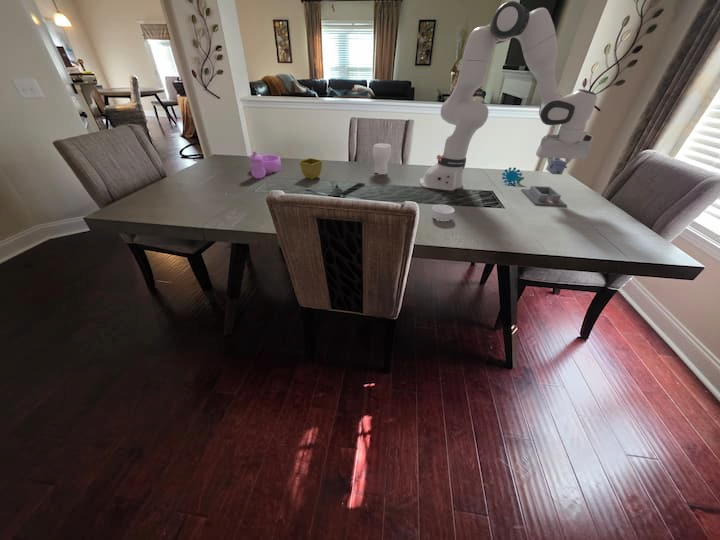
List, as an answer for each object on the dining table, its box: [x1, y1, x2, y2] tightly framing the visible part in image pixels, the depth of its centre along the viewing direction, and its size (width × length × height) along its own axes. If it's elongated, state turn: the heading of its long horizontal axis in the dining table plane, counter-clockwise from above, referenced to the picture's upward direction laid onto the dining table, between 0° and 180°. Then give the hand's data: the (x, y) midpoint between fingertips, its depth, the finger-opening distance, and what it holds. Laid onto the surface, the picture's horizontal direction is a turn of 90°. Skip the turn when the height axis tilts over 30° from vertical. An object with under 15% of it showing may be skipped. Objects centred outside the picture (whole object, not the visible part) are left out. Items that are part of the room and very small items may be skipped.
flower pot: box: [299, 157, 323, 180], centre depth 153 cm, size 9×9×9 cm
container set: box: [248, 151, 283, 179], centre depth 159 cm, size 25×15×13 cm, turn 174°
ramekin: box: [431, 204, 455, 221], centre depth 117 cm, size 9×9×4 cm
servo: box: [545, 158, 568, 176], centre depth 127 cm, size 4×10×6 cm, turn 174°
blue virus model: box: [501, 167, 525, 186], centre depth 152 cm, size 11×6×10 cm
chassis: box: [520, 185, 568, 208], centre depth 135 cm, size 14×18×4 cm
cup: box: [372, 142, 393, 175], centre depth 159 cm, size 11×11×15 cm
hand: (555, 168), depth 128 cm, fingers closed on servo, 4 cm apart
